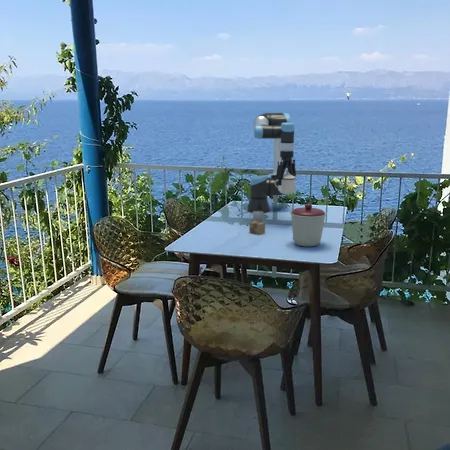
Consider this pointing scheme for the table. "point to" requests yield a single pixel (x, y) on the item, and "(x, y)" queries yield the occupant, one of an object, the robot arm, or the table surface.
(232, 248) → the table surface
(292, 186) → the teacup with lid
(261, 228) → the walnut block
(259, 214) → the grey rounded piece
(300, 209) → the canister
